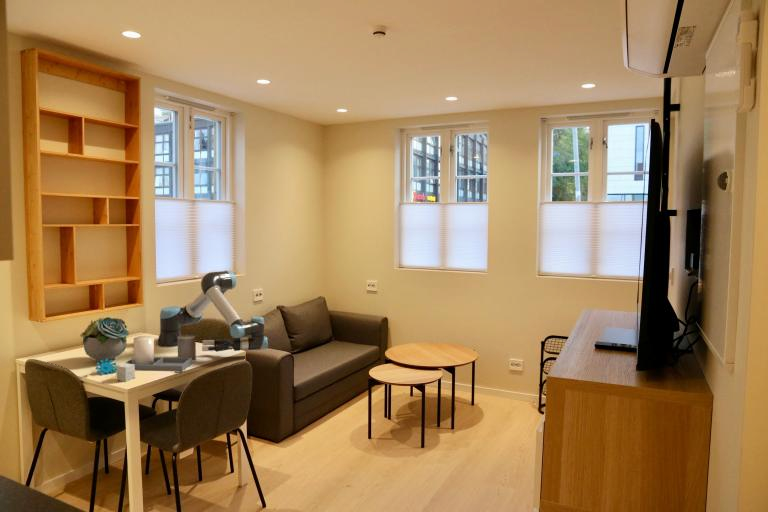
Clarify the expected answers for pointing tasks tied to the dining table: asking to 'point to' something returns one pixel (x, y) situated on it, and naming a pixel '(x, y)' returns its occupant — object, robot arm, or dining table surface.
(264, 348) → the robot arm
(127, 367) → the skincare box
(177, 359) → the tray
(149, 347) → the white candle
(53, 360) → the dining table surface
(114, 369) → the gear
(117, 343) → the flower arrangement
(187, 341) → the pillar candle
